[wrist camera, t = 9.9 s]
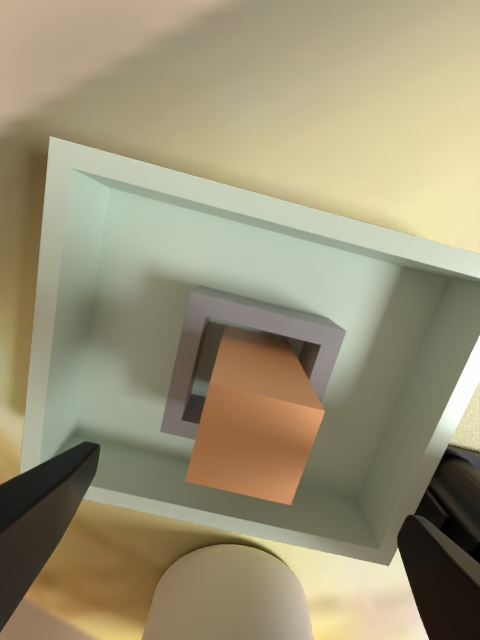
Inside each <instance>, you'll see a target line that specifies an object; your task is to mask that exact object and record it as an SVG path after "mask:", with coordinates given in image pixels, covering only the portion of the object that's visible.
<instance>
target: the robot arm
mask: <svg viewBox="0 0 480 640" xmlns="http://www.w3.org/2000/svg"><path fill="white" fill-rule="evenodd" d="M99 455H100V445H99V444H98V443H93V442H89V441H85V442H82V443H80V444H78V445H76V446H74V447H72V448H70V449H69V450H67V451H65V452H63V453H61V454H59V455H57V456H55V457H53V458H51V459H49V460H47V461H45V462H43V463H41V464H39V465H38V466H36V467H34V468H32V469H30V470H28V471H26V472H24V473H22V474H20V475H18V476H16V477H14V478H12V479H10V480H8V481H6V482H5V483H3V484H1V485H0V632H1V631H2V629H3V627H4V626H5V625H6V623H7V621H8V620H9V618H10V617H11V615H12V614H13V612H14V611H15V609H16V608H17V606H18V605H19V603H20V602H21V600H22V599H23V597H24V596H25V594H26V593H27V591H28V589H29V588H30V586H31V585H32V583H33V582H34V580H35V579H36V577H37V576H38V574H39V573H40V571H41V570H42V568H43V566H44V565H45V563H46V562H47V560H48V559H49V557H50V556H51V554H52V553H53V551H54V550H55V548H56V546H57V545H58V543H59V542H60V540H61V538H62V537H63V535H64V533H65V531H66V529H67V527H68V526H69V524H70V522H71V520H72V518H73V516H74V514H75V512H76V511H77V509H78V507H79V505H80V503H81V501H82V499H83V497H84V496H85V494H86V492H87V490H88V488H89V486H90V484H91V482H92V481H93V479H94V477H95V474H96V471H97V467H98V461H99ZM397 545H398V548H399V551H400V555H401V558H402V561H403V564H404V567H405V571H406V574H407V577H408V580H409V583H410V586H411V590H412V593H413V596H414V599H415V602H416V605H417V608H418V611H419V614H420V617H421V620H422V622H423V625H424V628H425V630H426V633H427V635H428V638H429V640H480V453H476V452H472V451H468V450H464V449H460V448H455V447H451V446H447V448H446V450H445V452H444V454H443V456H442V458H441V460H440V462H439V464H438V466H437V468H436V471H435V473H434V475H433V477H432V479H431V481H430V483H429V485H428V487H427V489H426V491H425V493H424V495H423V497H422V499H421V501H420V503H419V505H418V507H417V509H416V511H415V513H414V515H412V514H409V515H408V516H406V518H405V520H404V522H403V524H402V526H401V528H400V530H399V533H398V535H397Z"/></svg>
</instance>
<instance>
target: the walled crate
mask: <svg viewBox="0 0 480 640" xmlns="http://www.w3.org/2000/svg"><path fill="white" fill-rule="evenodd" d="M225 325H229V326H233V327H237V328H241V329H244V330H248V331H252V332H256V333H260V334H264V335H268V336H272V337H276V338H280V339H284V340H288V341H289V343H290V345H291V347H292V349H293V351H294V353H295V354H296V356H297V358H298V360H299V362H300V364H301V366H302V368H303V370H304V372H305V373H306V375H307V377H308V379H309V381H310V383H311V385H312V387H313V389H314V391H315V393H316V394H317V396H318V398H319V400H320V402H321V404H322V406H323V408H324V410H325V413H324V415H323V418H322V421H321V424H320V426H319V429H318V432H317V435H316V437H315V440H314V443H313V446H312V448H311V451H310V454H309V457H308V459H307V462H306V465H305V467H304V470H303V473H302V476H301V478H300V481H299V484H298V487H297V489H296V492H295V495H294V498H293V500H292V503H291V505H287V504H283V503H278V502H274V501H269V500H265V499H260V498H256V497H252V496H247V495H243V494H238V493H234V492H230V491H225V490H221V489H216V488H212V487H208V486H203V485H199V484H194V483H190V482H185V478H186V474H187V470H188V466H189V462H190V458H191V455H192V451H193V447H194V443H195V439H196V435H197V431H198V427H199V423H200V419H201V415H202V411H203V407H204V403H205V399H206V395H207V391H208V387H209V383H210V380H211V376H212V372H213V369H214V365H215V361H216V357H217V354H218V350H219V346H220V343H221V339H222V335H223V331H224V328H225ZM479 381H480V254H479V253H475V252H471V251H468V250H464V249H460V248H457V247H453V246H449V245H446V244H442V243H438V242H435V241H431V240H427V239H424V238H420V237H416V236H413V235H409V234H405V233H402V232H398V231H395V230H391V229H387V228H384V227H380V226H376V225H373V224H369V223H365V222H362V221H358V220H354V219H351V218H347V217H343V216H340V215H336V214H332V213H329V212H325V211H321V210H318V209H314V208H311V207H307V206H303V205H300V204H296V203H292V202H289V201H285V200H281V199H278V198H274V197H270V196H267V195H263V194H259V193H256V192H252V191H248V190H245V189H241V188H237V187H234V186H230V185H226V184H223V183H219V182H216V181H212V180H208V179H205V178H201V177H197V176H194V175H190V174H186V173H183V172H179V171H175V170H172V169H168V168H164V167H161V166H157V165H153V164H150V163H146V162H142V161H139V160H135V159H131V158H128V157H124V156H121V155H117V154H113V153H110V152H106V151H102V150H99V149H95V148H91V147H88V146H84V145H80V144H77V143H73V142H69V141H66V140H62V139H58V138H55V137H51V136H50V141H49V152H48V163H47V174H46V185H45V197H44V208H43V219H42V230H41V241H40V252H39V263H38V275H37V286H36V297H35V308H34V319H33V330H32V341H31V353H30V364H29V375H28V386H27V397H26V408H25V420H24V431H23V442H22V453H21V464H20V474H22V473H24V472H26V471H28V470H30V469H32V468H34V467H36V466H38V465H39V464H41V463H43V462H45V461H47V460H49V459H51V458H53V457H55V456H57V455H59V454H61V453H63V452H65V451H67V450H69V449H70V448H72V447H74V446H76V445H78V444H80V443H82V442H85V441H89V442H93V443H98V444H99V445H100V455H99V461H98V467H97V471H96V474H95V477H94V479H93V481H92V482H91V484H90V486H89V488H88V490H87V492H86V494H85V496H84V497H83V499H85V500H90V501H94V502H99V503H103V504H108V505H112V506H117V507H122V508H126V509H131V510H135V511H140V512H144V513H149V514H154V515H158V516H163V517H167V518H172V519H176V520H181V521H186V522H190V523H195V524H199V525H204V526H209V527H213V528H218V529H222V530H227V531H231V532H236V533H241V534H245V535H250V536H254V537H259V538H263V539H268V540H273V541H277V542H282V543H286V544H291V545H295V546H300V547H305V548H309V549H314V550H318V551H323V552H327V553H332V554H337V555H341V556H346V557H350V558H355V559H359V560H364V561H369V562H373V563H378V564H382V565H387V566H389V565H390V563H391V561H392V558H393V556H394V554H395V552H396V550H397V548H398V545H397V535H398V533H399V530H400V528H401V526H402V524H403V522H404V520H405V518H406V516H408V515H409V514H412V515H414V513H415V511H416V509H417V507H418V505H419V503H420V501H421V499H422V497H423V495H424V493H425V491H426V489H427V487H428V485H429V483H430V481H431V479H432V477H433V475H434V473H435V471H436V468H437V466H438V464H439V462H440V460H441V458H442V456H443V454H444V452H445V450H446V448H447V446H448V444H449V442H450V440H451V438H452V436H453V434H454V432H455V430H456V428H457V426H458V423H459V421H460V419H461V417H462V415H463V413H464V411H465V409H466V407H467V405H468V403H469V401H470V399H471V397H472V395H473V393H474V391H475V389H476V387H477V385H478V383H479Z"/></svg>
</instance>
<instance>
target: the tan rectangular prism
mask: <svg viewBox="0 0 480 640" xmlns="http://www.w3.org/2000/svg"><path fill="white" fill-rule="evenodd" d="M324 413H325V410H324V408H323V406H322V404H321V402H320V400H319V398H318V396H317V394H316V393H315V391H314V389H313V387H312V385H311V383H310V381H309V379H308V377H307V375H306V373H305V372H304V370H303V368H302V366H301V364H300V362H299V360H298V358H297V356H296V354H295V353H294V351H293V349H292V347H291V345H290V343H289V341H288V340H284V339H280V338H276V337H272V336H268V335H264V334H260V333H256V332H252V331H248V330H244V329H241V328H237V327H233V326H229V325H225V328H224V331H223V335H222V339H221V343H220V346H219V350H218V354H217V357H216V361H215V365H214V369H213V372H212V376H211V380H210V383H209V387H208V391H207V395H206V399H205V403H204V407H203V411H202V415H201V419H200V423H199V427H198V431H197V435H196V439H195V443H194V447H193V451H192V455H191V458H190V462H189V466H188V470H187V474H186V478H185V482H190V483H194V484H199V485H203V486H208V487H212V488H216V489H221V490H225V491H230V492H234V493H238V494H243V495H247V496H252V497H256V498H260V499H265V500H269V501H274V502H278V503H283V504H287V505H291V503H292V500H293V498H294V495H295V492H296V489H297V487H298V484H299V481H300V478H301V476H302V473H303V470H304V467H305V465H306V462H307V459H308V457H309V454H310V451H311V448H312V446H313V443H314V440H315V437H316V435H317V432H318V429H319V426H320V424H321V421H322V418H323V415H324Z"/></svg>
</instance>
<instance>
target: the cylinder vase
mask: <svg viewBox="0 0 480 640" xmlns="http://www.w3.org/2000/svg"><path fill="white" fill-rule="evenodd" d="M142 640H314V638H313V633H312V627H311V622H310V616H309V611H308V605H307V600H306V596H305V593H304V590H303V588H302V586H301V584H300V582H299V580H298V579H297V577H296V576H295V574H294V573H293V572H292V571H291V570H290V569H289V568H288V567H287V566H286V565H285V564H284V563H283V562H281V561H280V560H279V559H277V558H276V557H274V556H272V555H271V554H269V553H267V552H264V551H262V550H259V549H256V548H253V547H249V546H244V545H236V544H220V545H212V546H207V547H204V548H200V549H197V550H195V551H192V552H190V553H188V554H186V555H185V556H183V557H181V558H180V559H178V560H177V561H176V562H175V563H173V564H172V565H171V566H170V567H169V568H168V569H167V571H166V572H165V573H164V574H163V576H162V577H161V579H160V581H159V582H158V584H157V587H156V589H155V592H154V595H153V599H152V603H151V606H150V610H149V614H148V618H147V621H146V625H145V629H144V633H143V636H142Z"/></svg>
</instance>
